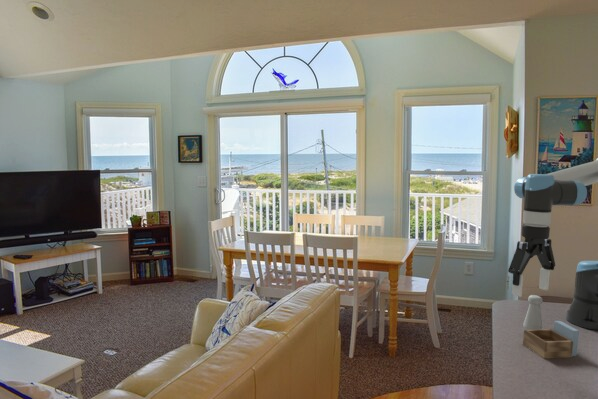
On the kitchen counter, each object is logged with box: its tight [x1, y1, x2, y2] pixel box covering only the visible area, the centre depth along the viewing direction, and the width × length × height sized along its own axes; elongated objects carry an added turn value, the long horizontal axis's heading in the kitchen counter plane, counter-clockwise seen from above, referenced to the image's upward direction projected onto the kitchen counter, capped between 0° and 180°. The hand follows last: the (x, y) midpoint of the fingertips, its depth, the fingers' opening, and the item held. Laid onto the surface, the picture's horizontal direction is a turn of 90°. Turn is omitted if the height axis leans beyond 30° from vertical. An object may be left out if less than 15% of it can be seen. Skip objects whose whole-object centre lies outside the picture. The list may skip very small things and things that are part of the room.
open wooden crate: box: [522, 328, 573, 359], centre depth 142 cm, size 10×10×5 cm
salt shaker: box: [522, 294, 543, 330], centre depth 155 cm, size 6×6×13 cm
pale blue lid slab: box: [552, 320, 580, 357], centre depth 142 cm, size 2×8×8 cm, turn 10°
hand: (530, 292), depth 141 cm, fingers open, 13 cm apart
